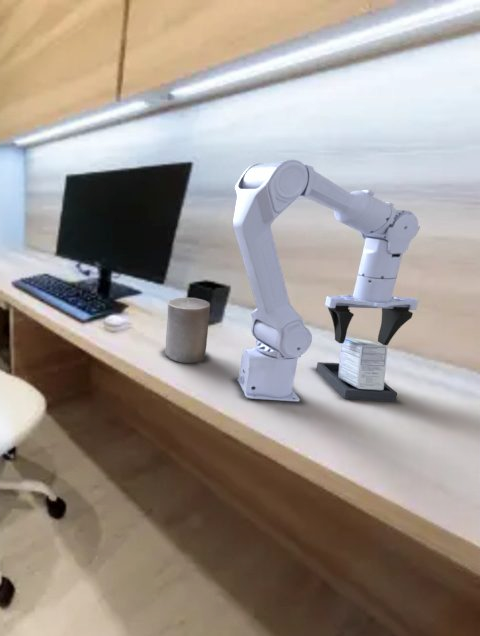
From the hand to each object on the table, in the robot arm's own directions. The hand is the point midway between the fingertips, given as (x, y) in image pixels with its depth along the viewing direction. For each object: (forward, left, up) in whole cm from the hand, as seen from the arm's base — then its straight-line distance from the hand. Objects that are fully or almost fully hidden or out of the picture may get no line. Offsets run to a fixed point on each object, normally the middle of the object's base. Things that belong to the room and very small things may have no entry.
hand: (360, 342), depth 76 cm
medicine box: (0, -3, -8) cm, 9 cm away
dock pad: (0, 0, -9) cm, 9 cm away
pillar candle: (-32, +11, -10) cm, 35 cm away
